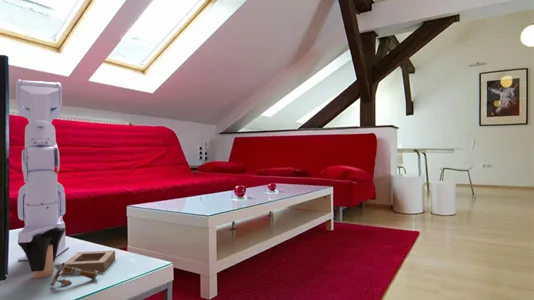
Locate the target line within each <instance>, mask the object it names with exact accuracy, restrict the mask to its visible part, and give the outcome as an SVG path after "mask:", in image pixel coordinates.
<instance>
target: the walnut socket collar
mask: <svg viewBox="0 0 534 300" xmlns="http://www.w3.org/2000/svg"><path fill="white" fill-rule="evenodd" d="M115 259H116V250H97V251H96V250H95V251H77V252H76V253H75V254H74V255H72V257H70V258H69V259H67V260H66V261H65V262H64V263H65V265H66V266H67V267H71V268H72V267H73V268H74V269H75V268H76V269H81V270H82V271H88V272H95V271H97V270H98V273H101V272H105V271H106V270H107V268H108V267H109V266H110V265H111V264H112V263H113V262H114V261H115ZM63 272H65V271H64V270H63V271H62V270H61V273H63ZM64 274H71V273H70V272H66V273H64ZM64 274H63V275H64Z"/></svg>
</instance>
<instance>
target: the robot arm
mask: <svg viewBox="0 0 534 300" xmlns="http://www.w3.org/2000/svg"><path fill="white" fill-rule="evenodd" d="M15 99H16V100H15V101H16V105H17V111H18V114H19V116H21V117H23V118H25V119H27V121H28V124H26V125H25V128H24V149H22V151H21V169H22V174H23V182H24V183H25V184H24V185H22V186H21V187H20V188H19V190H18V197H17V216H18V219H19V220H20V221H24V226H23V228H22V230H20V231H19V232H17V234H18V235H17V245H19V247H20V248H21V249H22V251H23V252H24V254H23V255H21V256H19V257H18V258H17V261H28V264H29V267H30V270H31V272H33V273H34V271H43V270H44V268H45V263H46V253H47V249H48V246H49V244H51V245H53V264H54V263H55V261H56V257H57V256H58V255H61V254H62V253H63V252H65V251H66V250H67V249H68V248H70V245H66V224H65V221H64V220H63V219H64V218H63V216H64V215H65V214H66V193H65V187H63V184H61V183H59V182H58V173H59V171H60V150H59V147H58V143H57V140H56V139H57V137H56V128H55V126H54V124H52V122H53V121H54V119H56V118H59V117H60V116H61V113H62V105H63V86H62V84H61V83H60V82H58V81H57V82H52V81H50V82H48V81H38V80H24V79H23V80H22V79H17V80H16V81H15ZM55 168H56V172H55Z"/></svg>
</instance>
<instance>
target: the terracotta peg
mask: <svg viewBox="0 0 534 300" xmlns="http://www.w3.org/2000/svg"><path fill="white" fill-rule="evenodd" d="M53 274H54V263H53V245H51V244H49V246H48V249H47V253H46V263H45V268H44V270H43V271H34V272H33V278H35V279H43V278H47V277H51V276H52V275H53Z"/></svg>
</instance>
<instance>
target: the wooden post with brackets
mask: <svg viewBox="0 0 534 300" xmlns="http://www.w3.org/2000/svg"><path fill="white" fill-rule="evenodd" d="M53 268H56V272H55V273H56V274H55V275H54V277H53V278H52V280H51V282H50V287H54V285H55V284H56V283H57V282H58V283H61V286H63V285H65V286H68V285H69V286H70V285H73V284H72V281H70V280H71V279H65V278H63V279H61V278H60V276H62V275H64V273H66V272H70V273H69V274H72V275H75V276H83V277H85V278H88V279H91V281H92V282H95V281H96V278H97V276H98V273H99V272H98V270H97V271H95V272H88V271H82V270H81V269H76V268H75V269H74V268H73V267H72V268H71V267H67V266H66V265H65V262H61V263H58V264H57V263H56V264H53ZM63 270H64V271H65V272H63V273H62V271H63ZM58 278H59V279H58Z"/></svg>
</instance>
